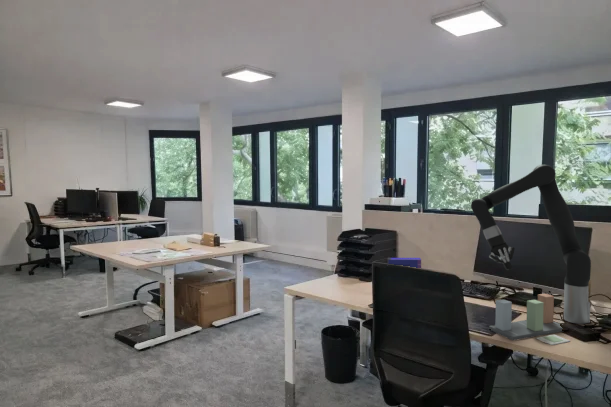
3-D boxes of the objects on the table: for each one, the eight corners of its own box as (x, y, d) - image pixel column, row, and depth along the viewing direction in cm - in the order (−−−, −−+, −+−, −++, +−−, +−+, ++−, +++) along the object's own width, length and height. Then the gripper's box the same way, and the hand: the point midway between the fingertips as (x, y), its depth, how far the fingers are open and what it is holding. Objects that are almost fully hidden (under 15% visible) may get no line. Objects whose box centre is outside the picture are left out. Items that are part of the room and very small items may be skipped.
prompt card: (554, 335, 168) (554, 333, 168) (570, 341, 162) (570, 340, 162) (536, 338, 165) (536, 337, 165) (551, 345, 159) (551, 343, 159)
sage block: (534, 326, 175) (534, 299, 174) (543, 329, 170) (543, 302, 170) (526, 327, 173) (526, 300, 172) (535, 331, 169) (535, 303, 168)
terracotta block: (544, 318, 183) (545, 293, 182) (553, 322, 179) (553, 296, 178) (537, 320, 182) (537, 294, 181) (545, 323, 178) (546, 297, 177)
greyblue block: (503, 325, 176) (503, 299, 175) (511, 329, 172) (511, 302, 171) (495, 327, 174) (495, 300, 174) (503, 330, 170) (503, 303, 170)
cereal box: (419, 300, 220) (419, 257, 219) (421, 302, 215) (421, 259, 214) (387, 299, 222) (387, 257, 220) (388, 302, 217) (388, 259, 216)
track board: (542, 320, 186) (542, 317, 186) (568, 330, 174) (568, 326, 173) (489, 329, 176) (489, 326, 176) (512, 340, 164) (512, 336, 164)
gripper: (483, 239, 192) (499, 273, 187) (509, 230, 192) (526, 264, 187) (478, 241, 199) (493, 274, 195) (503, 233, 199) (519, 265, 195)
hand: (509, 269), depth 191 cm, fingers closed
